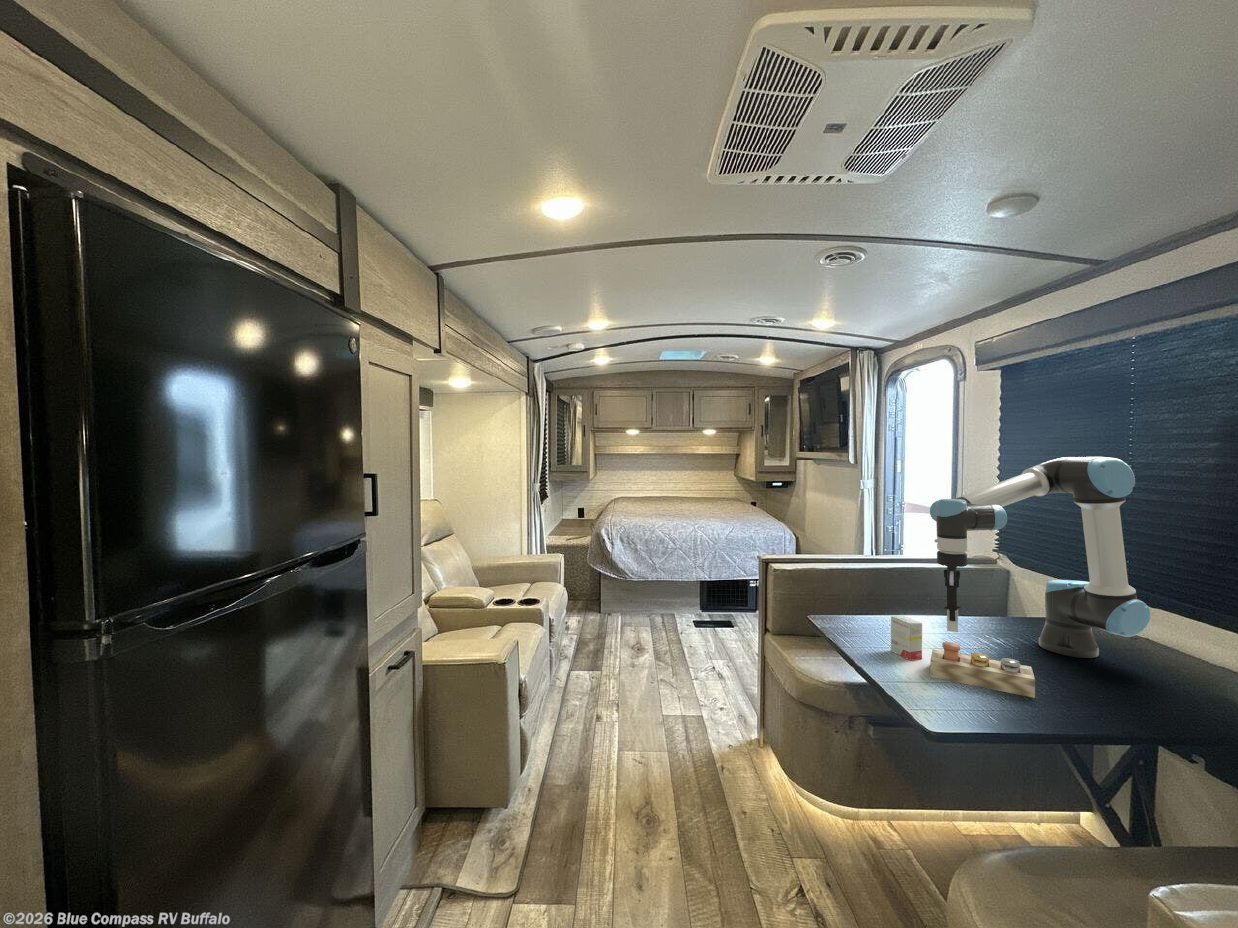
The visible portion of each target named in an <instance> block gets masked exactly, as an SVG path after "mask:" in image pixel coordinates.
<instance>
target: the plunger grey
mask: <svg viewBox="0 0 1238 928" xmlns="http://www.w3.org/2000/svg"><path fill="white" fill-rule="evenodd" d="M1000 661H1001V664H1002V665H1003V667H1002V670H1005V671H1011V672H1016V673H1019V667H1020V665H1021V662H1020V661H1019V660H1017V659H1013V658H1009V657H1002V658H1000Z"/></svg>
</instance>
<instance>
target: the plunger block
mask: <svg viewBox="0 0 1238 928" xmlns="http://www.w3.org/2000/svg"><path fill="white" fill-rule="evenodd" d="M930 655H931V656H930V662H929V663H930V665H929V666H930V668H929V669H930V671H929V672H930V674H929V675H930V677H931V678H935V679H940V680H945V681H948V682H949V681H950V682H955V683H961V684H964V685H970V686H974V687H979V688H984V689H990V690H994V691H999V692H1002V693H1003V692H1004V693H1009V694H1013V695H1019V696H1023V697H1028V698H1033V699H1035V698H1036V678H1035V675H1034V672H1033V671H1034V670H1033V668H1032V666H1029V665H1024V664H1023V665H1022V664H1020V667H1019V673H1016V672H1011V671H1005V670H1002V667H1003V665H1002V664H1001V660H996V659H990V658H989V662H988V667H984V666H978V665H973V664H972V659H971V655H966V654H962V653H958V662H957V661H951V660H946V659H944V650H940V649H932V650H931V654H930Z"/></svg>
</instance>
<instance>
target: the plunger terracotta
mask: <svg viewBox="0 0 1238 928" xmlns="http://www.w3.org/2000/svg"><path fill="white" fill-rule="evenodd" d="M942 648H943V651H944V659H946V660H951V661H957V662H958V654H959V652H960V650H961V645H960V644H958V643H956V642H955V643H954V642H951V641H945V642H942Z"/></svg>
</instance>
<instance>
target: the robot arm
mask: <svg viewBox="0 0 1238 928" xmlns="http://www.w3.org/2000/svg"><path fill="white" fill-rule="evenodd" d="M1135 477H1136V476H1135V474H1134V471H1133V470H1132V468H1131V466H1130V465H1128V464H1127V463H1126V462H1124V461H1123V460H1122V459H1119V458H1115V457H1105V456H1086V457H1085V456H1084V457H1083V456H1081V457H1080V456H1078V457H1075V456H1068V457H1067V456H1066V457H1060V458H1056V459H1052V460H1048V461H1046V462H1042V463H1039V464H1036V465H1034V466H1031V467H1029V468H1025V469H1023V471H1022V472H1021V474H1019V475H1017V476H1013V477H1011V478H1008V479H1005V480H1002V481H1000V482H997V483H994V484H992V485H989V486H986V487H983V488H981V489H978V490H975V491H972V492H969V493H965V494H964V495H962V496H958V497H955V498H942V499H941V498H940V499H939V500H935V501H934V502H933V503H931V506H930V508H929V515H930V517H931V519H933V521H935V522H936V538H935V539H934V543H936V549H937V550H938V551H936V562H937V564H938V565H941V566H944V567H946V569H944V571H943V578H944V586H945V587H946V606H944V610H946V631H948V632H953V633H959V610H961V606H960V605H959V601H958V588H959V587H960V579H961V578H960V577H961V571H960V570H958V568H959V567H960V568H963V567H967V565H968V553H966V552H968V532H970V531H974V532H975V531H995V530H1001V529H1003V528H1004V527H1005V526H1006V525H1007V523H1008V515H1007V511H1006V510H1005V509H1004V508H1003V507H1006V506H1009V505H1012V504H1014V503H1018V502H1019V501H1022V500H1026V499H1027V498H1030V497H1033V496H1036V497H1043V496H1045V495H1049V494H1072V498H1073V503H1074V504H1076V505H1077V506H1078V507H1080V508H1081V517H1082V525H1083V536H1084V542H1085V544H1084V545H1085V551H1086V559H1087V560H1086V561H1087V569H1088V576H1089V577H1088V578H1089V581H1085V580H1071V579H1053V580H1049V581H1047V582H1046V584H1045V592H1044V593H1045V599H1044V600H1045V623H1044V625H1043V628H1042V631H1041V633H1040V635H1039V637H1038V646H1040V647H1041V648H1042V649H1043V650H1046V651H1048V652H1052V653H1054V654H1055V653H1056V654H1059V655H1063V656H1065V657H1066V656H1067V657H1072V658H1073V657H1074V658H1078V659H1079V658H1082V659H1093V658H1098V657H1099V654H1100V649H1099V647H1098V646H1099V645H1098V644H1097V641H1096V639H1095V635H1094V633H1093V630H1092V629H1093V628H1094V629H1098V630H1101V631H1104V632H1107V633H1108V634H1112V635H1116V636H1121V637H1126V638H1129V637H1134V636H1137V635H1139V634H1141V633H1142V632H1143V631H1144V630H1145V629H1146V628H1147V627H1148V625H1149V623H1150V619H1151V610H1150V607H1149V606H1148V605H1147V604H1146V603H1145V602H1144V601H1142V600H1140V599H1138V595H1137V591H1136V590H1137V589H1135V588H1134V587H1132V586H1131V585H1129V580H1128V571H1127V562H1126V552H1125V545H1124V544H1125V543H1124V536H1123V528H1122V518H1121V509H1120V507H1121V505H1122V504H1124V503H1125V502H1126V497H1127V496H1129V495H1130V494H1131V493H1132V492H1133V488H1135V485H1136V478H1135Z"/></svg>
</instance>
